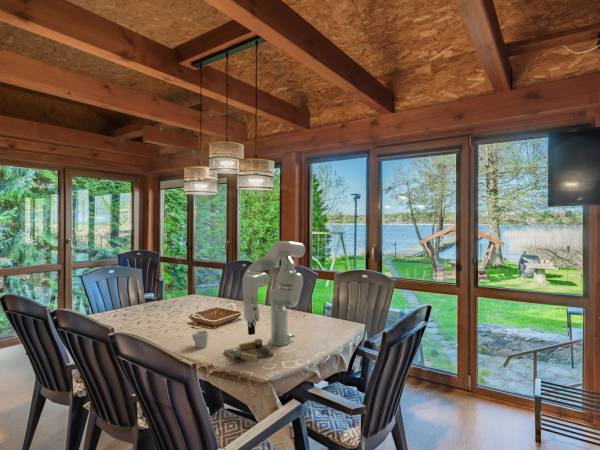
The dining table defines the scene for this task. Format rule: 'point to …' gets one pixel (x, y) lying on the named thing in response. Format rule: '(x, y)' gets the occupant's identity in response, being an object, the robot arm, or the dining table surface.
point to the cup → (200, 339)
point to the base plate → (259, 351)
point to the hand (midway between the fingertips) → (251, 334)
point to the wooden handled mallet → (244, 356)
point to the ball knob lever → (251, 344)
